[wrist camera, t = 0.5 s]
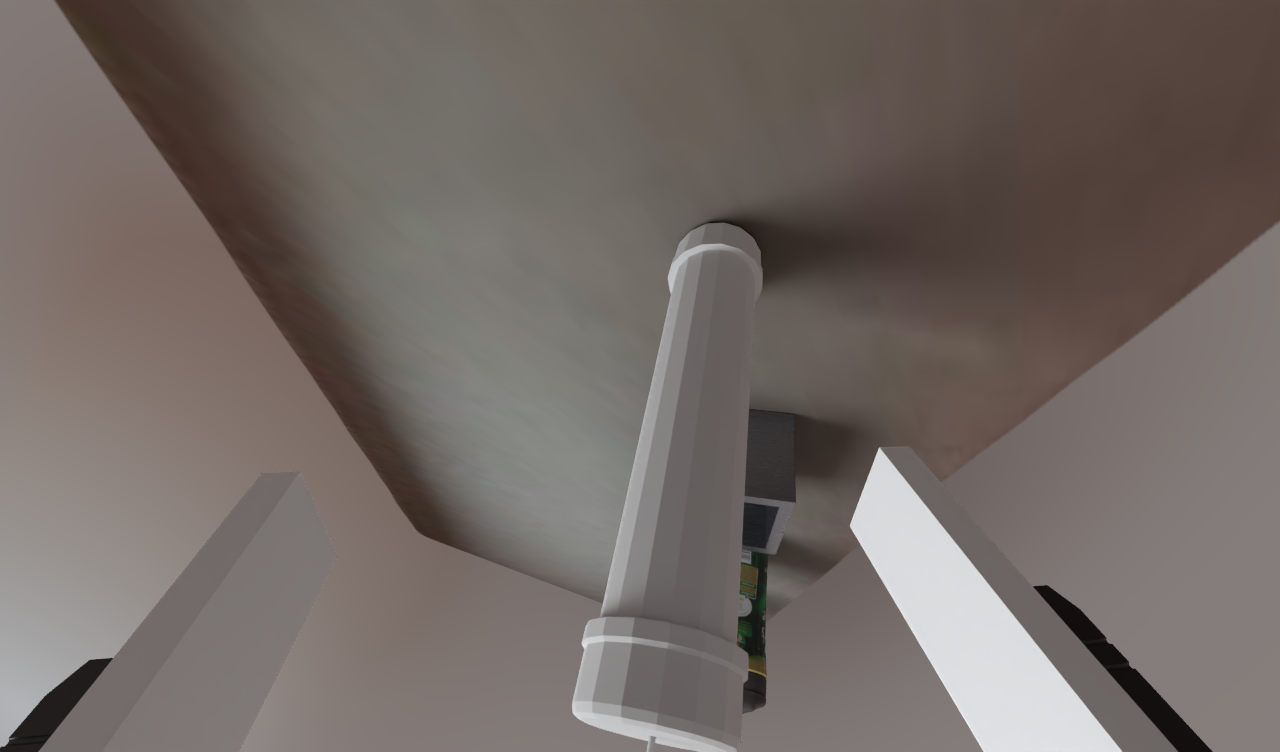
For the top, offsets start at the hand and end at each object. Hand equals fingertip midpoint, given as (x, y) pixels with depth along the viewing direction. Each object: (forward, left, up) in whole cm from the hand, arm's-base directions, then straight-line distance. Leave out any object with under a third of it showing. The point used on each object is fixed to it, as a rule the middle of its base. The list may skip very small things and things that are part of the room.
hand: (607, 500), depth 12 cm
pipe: (+6, +5, -21) cm, 22 cm away
